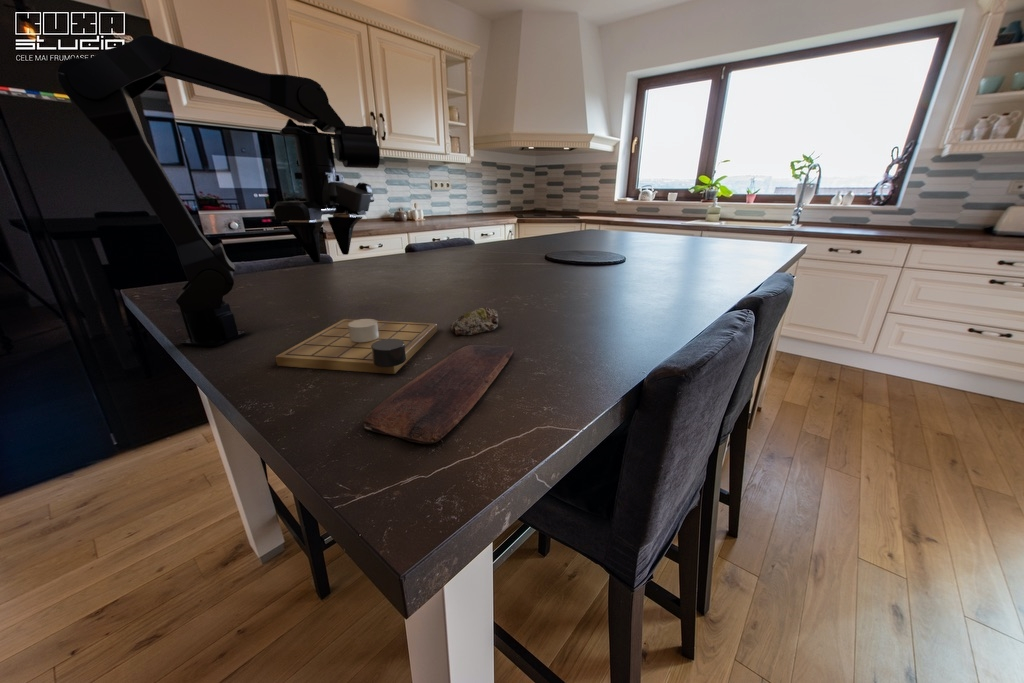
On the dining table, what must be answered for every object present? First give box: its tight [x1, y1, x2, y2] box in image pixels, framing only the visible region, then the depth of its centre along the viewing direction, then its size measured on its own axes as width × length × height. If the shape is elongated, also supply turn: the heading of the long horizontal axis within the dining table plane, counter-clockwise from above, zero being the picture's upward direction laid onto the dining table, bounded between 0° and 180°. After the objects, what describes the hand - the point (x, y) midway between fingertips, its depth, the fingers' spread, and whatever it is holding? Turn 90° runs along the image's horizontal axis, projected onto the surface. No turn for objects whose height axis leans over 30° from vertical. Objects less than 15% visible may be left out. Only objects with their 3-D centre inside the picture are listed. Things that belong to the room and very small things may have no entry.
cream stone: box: [348, 318, 379, 342], centre depth 63 cm, size 4×4×2 cm
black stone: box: [371, 339, 406, 367], centre depth 55 cm, size 4×4×2 cm
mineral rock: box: [450, 307, 500, 336], centre depth 73 cm, size 11×4×8 cm
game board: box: [275, 318, 438, 375], centre depth 64 cm, size 18×18×2 cm
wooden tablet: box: [362, 344, 514, 445], centre depth 51 cm, size 26×2×10 cm
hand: (332, 258), depth 73 cm, fingers open, 9 cm apart
